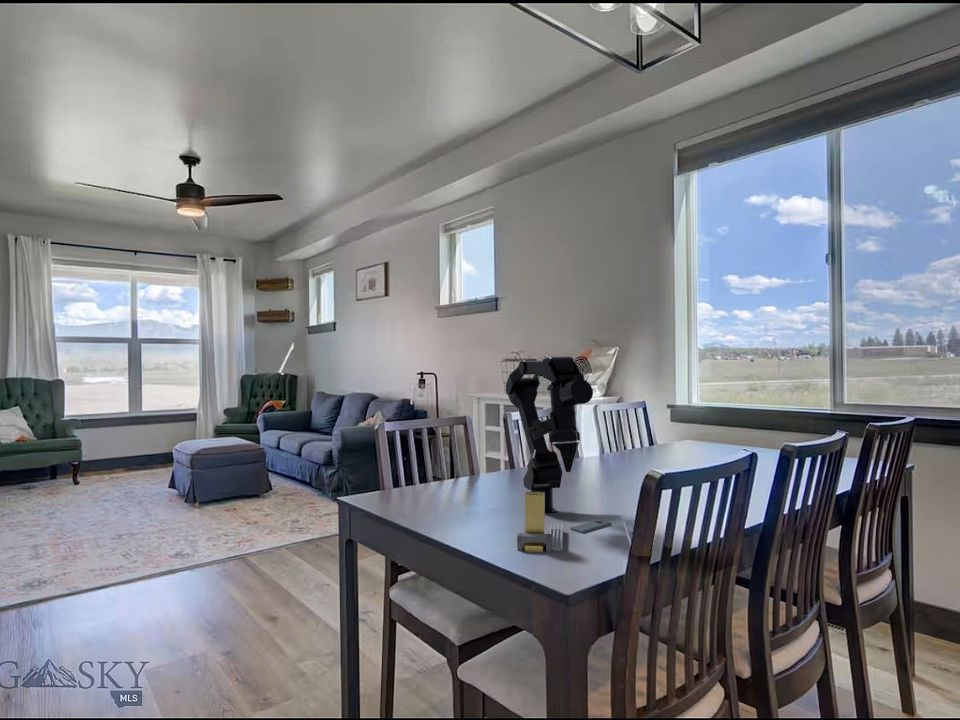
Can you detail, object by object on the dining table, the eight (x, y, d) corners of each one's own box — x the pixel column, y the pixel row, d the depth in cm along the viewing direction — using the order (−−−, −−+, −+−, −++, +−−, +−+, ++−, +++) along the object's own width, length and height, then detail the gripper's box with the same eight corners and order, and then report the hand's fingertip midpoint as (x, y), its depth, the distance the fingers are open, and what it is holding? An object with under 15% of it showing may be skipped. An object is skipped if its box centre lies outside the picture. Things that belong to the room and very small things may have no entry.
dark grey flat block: (569, 535, 136) (569, 527, 136) (599, 526, 142) (599, 518, 142) (582, 539, 133) (582, 531, 132) (612, 530, 139) (612, 522, 139)
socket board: (512, 533, 136) (512, 516, 136) (564, 534, 135) (563, 517, 135) (504, 556, 121) (504, 537, 121) (563, 558, 119) (563, 539, 119)
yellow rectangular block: (526, 542, 127) (525, 491, 127) (544, 542, 126) (544, 492, 126) (524, 551, 121) (523, 498, 121) (543, 552, 120) (543, 498, 120)
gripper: (534, 411, 154) (539, 471, 151) (525, 408, 136) (530, 476, 133) (577, 408, 151) (582, 469, 149) (573, 404, 133) (579, 473, 131)
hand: (568, 472), depth 141 cm, fingers closed
